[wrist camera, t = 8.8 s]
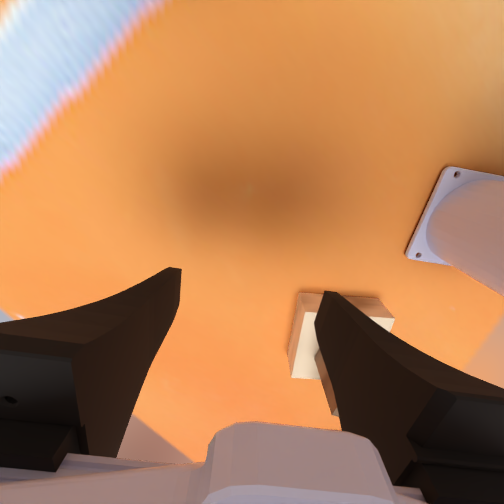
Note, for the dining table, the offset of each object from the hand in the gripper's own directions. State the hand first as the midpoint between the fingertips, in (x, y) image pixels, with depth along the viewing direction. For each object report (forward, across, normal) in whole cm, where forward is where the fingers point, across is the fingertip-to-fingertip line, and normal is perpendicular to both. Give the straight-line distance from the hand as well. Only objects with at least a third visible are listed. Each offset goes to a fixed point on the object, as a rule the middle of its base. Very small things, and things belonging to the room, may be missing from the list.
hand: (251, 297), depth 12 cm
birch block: (+11, -10, +9) cm, 17 cm away
